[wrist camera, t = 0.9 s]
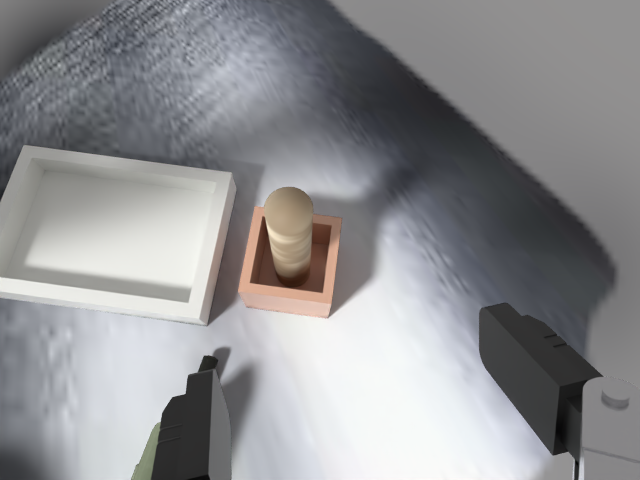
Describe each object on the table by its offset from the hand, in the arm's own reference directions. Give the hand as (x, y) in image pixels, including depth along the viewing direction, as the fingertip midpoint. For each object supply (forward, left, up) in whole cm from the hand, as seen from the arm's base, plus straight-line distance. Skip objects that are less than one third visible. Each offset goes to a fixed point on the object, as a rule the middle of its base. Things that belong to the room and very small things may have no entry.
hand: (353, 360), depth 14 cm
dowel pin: (-4, +11, -28) cm, 30 cm away
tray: (-21, +12, -29) cm, 37 cm away
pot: (-4, +11, -29) cm, 31 cm away
